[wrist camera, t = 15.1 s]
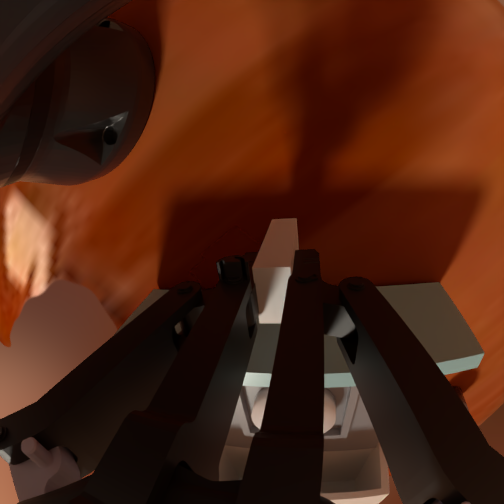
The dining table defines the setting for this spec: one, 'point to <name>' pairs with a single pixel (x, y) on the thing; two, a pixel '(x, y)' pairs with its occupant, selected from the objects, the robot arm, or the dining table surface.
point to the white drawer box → (330, 473)
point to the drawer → (337, 372)
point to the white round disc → (328, 409)
